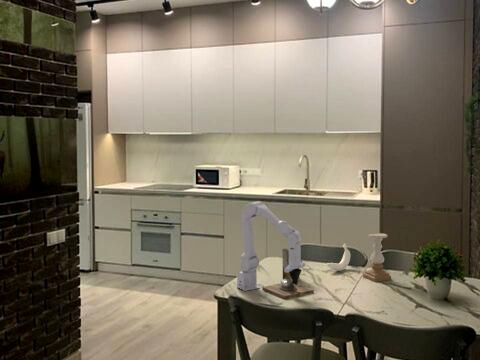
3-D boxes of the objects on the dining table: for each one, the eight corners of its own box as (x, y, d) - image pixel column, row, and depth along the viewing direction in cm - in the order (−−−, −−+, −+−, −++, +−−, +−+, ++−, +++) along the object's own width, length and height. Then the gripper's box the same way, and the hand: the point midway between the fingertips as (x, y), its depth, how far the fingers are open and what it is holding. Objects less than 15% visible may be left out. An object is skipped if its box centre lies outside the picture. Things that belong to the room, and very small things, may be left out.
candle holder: (391, 279, 277) (392, 235, 275) (374, 282, 273) (375, 237, 271) (379, 274, 287) (379, 232, 285) (362, 276, 283) (362, 233, 281)
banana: (326, 272, 292) (326, 247, 291) (345, 266, 306) (345, 242, 304) (333, 274, 289) (333, 248, 287) (352, 268, 302) (352, 243, 301)
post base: (285, 299, 245) (285, 294, 245) (262, 290, 260) (262, 285, 260) (313, 292, 255) (313, 288, 255) (290, 284, 270) (290, 279, 270)
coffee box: (299, 277, 282) (299, 248, 281) (299, 281, 276) (299, 251, 274) (282, 277, 283) (282, 248, 282) (282, 280, 276) (282, 250, 275)
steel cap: (279, 284, 260) (279, 276, 260) (293, 283, 261) (293, 276, 261) (284, 291, 248) (284, 283, 248) (299, 291, 249) (299, 283, 249)
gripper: (292, 260, 242) (293, 289, 243) (309, 254, 253) (310, 282, 254) (280, 258, 246) (280, 286, 247) (297, 252, 257) (298, 279, 258)
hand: (294, 284), depth 251 cm, fingers closed, pressing on steel cap
